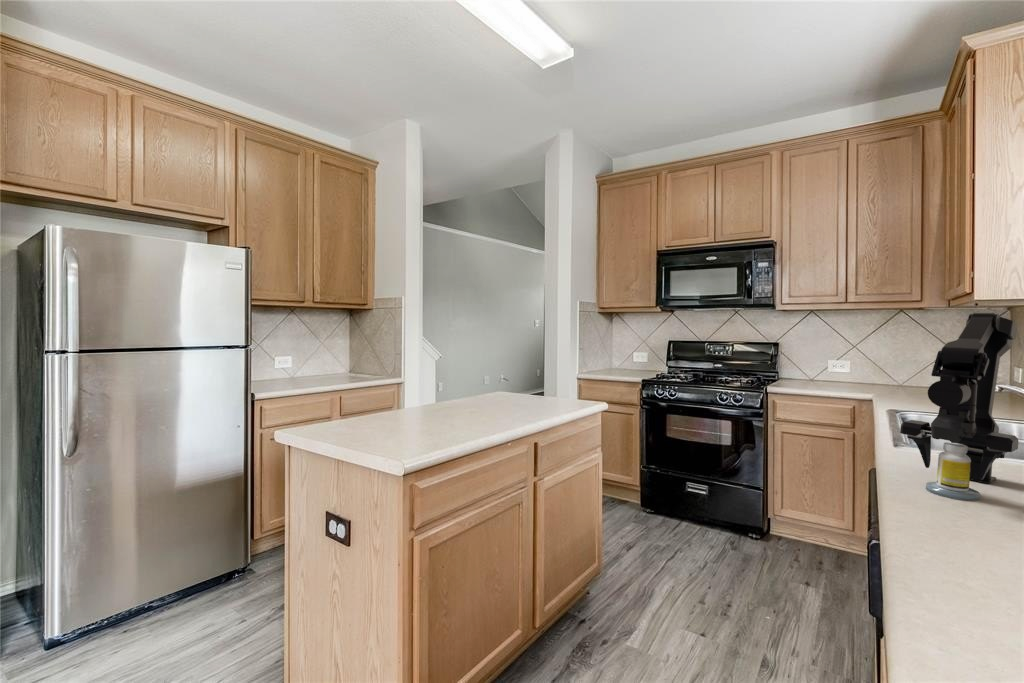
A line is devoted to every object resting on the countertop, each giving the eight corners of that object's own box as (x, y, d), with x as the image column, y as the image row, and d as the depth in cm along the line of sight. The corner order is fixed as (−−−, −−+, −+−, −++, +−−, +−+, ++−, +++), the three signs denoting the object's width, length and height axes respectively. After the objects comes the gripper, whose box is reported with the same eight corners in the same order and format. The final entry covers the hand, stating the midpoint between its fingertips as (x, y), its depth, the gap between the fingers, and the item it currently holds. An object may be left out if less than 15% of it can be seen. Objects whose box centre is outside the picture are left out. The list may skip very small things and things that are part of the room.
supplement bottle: (975, 493, 107) (978, 448, 106) (946, 491, 108) (949, 446, 107) (958, 485, 112) (961, 442, 111) (930, 482, 113) (933, 440, 113)
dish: (933, 483, 116) (933, 478, 116) (985, 495, 109) (985, 490, 109) (919, 490, 111) (919, 485, 111) (972, 503, 104) (973, 498, 104)
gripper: (892, 399, 112) (888, 467, 113) (1007, 414, 97) (1001, 493, 97) (911, 396, 118) (907, 460, 119) (1021, 409, 103) (1016, 483, 104)
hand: (953, 473), depth 110 cm, fingers open, 9 cm apart
